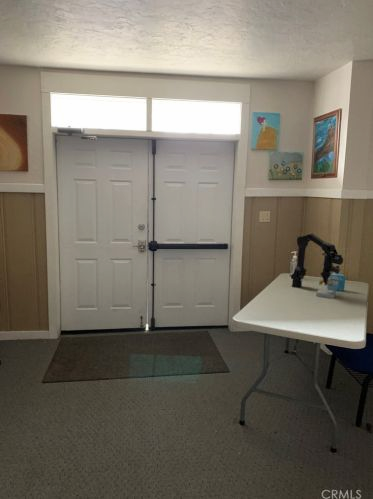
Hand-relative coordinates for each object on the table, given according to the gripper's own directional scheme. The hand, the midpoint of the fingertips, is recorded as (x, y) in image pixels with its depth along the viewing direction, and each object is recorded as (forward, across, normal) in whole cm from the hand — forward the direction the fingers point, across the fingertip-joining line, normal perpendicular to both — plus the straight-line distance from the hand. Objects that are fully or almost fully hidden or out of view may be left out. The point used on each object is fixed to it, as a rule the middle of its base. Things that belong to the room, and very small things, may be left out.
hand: (326, 283), depth 283 cm
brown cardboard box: (+1, 0, 0) cm, 1 cm away
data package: (+9, +22, -5) cm, 24 cm away
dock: (+9, 0, -1) cm, 9 cm away
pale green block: (-2, 0, 0) cm, 2 cm away
